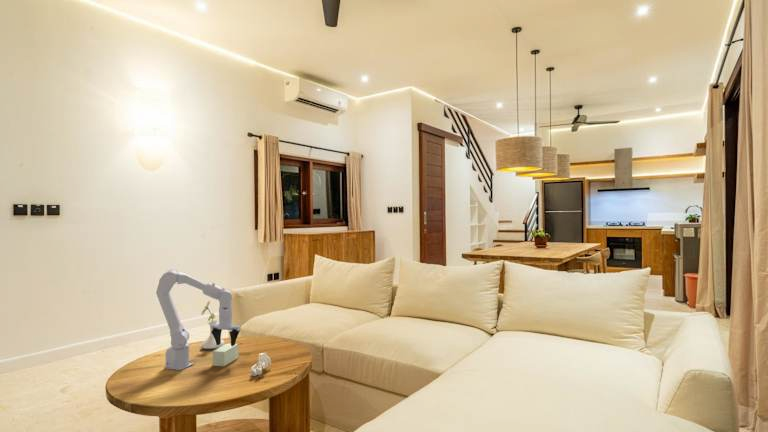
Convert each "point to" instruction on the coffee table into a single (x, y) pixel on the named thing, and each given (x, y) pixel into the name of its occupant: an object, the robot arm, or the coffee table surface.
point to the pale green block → (225, 354)
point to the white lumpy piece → (260, 364)
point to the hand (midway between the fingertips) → (225, 345)
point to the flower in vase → (210, 341)
